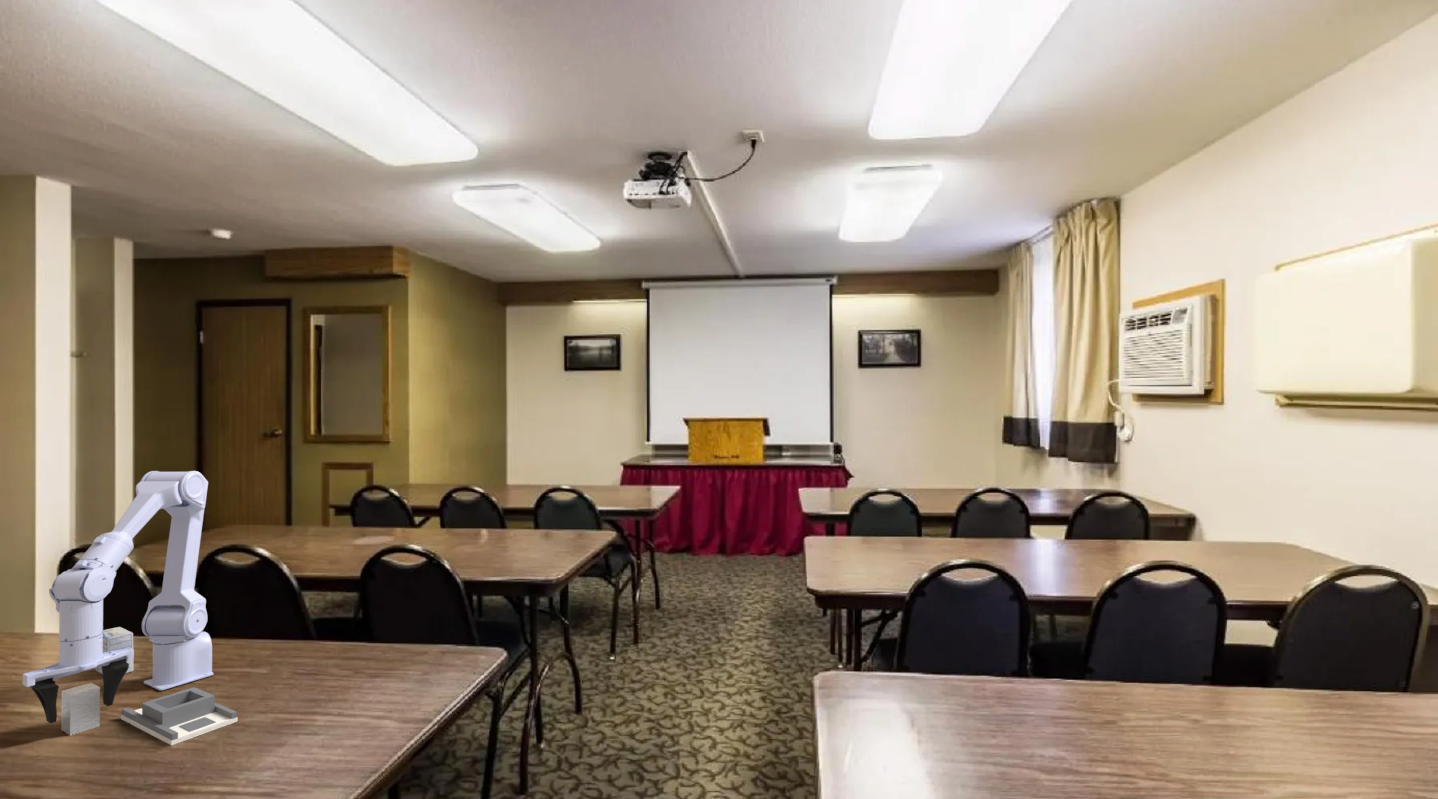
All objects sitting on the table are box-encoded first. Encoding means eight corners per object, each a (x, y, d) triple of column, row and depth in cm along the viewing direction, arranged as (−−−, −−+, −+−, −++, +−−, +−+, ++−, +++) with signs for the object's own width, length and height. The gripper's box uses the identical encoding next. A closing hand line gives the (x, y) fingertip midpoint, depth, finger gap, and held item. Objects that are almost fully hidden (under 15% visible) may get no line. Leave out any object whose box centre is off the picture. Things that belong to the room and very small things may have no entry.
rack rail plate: (185, 698, 132) (185, 679, 132) (237, 721, 122) (237, 700, 122) (120, 719, 123) (120, 698, 123) (171, 745, 114) (171, 722, 114)
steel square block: (90, 721, 123) (90, 682, 123) (99, 726, 121) (99, 687, 121) (61, 730, 119) (61, 690, 119) (70, 735, 117) (70, 695, 117)
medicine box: (134, 672, 146) (134, 632, 146) (107, 679, 142) (107, 638, 142) (120, 664, 150) (121, 626, 150) (94, 671, 146) (94, 631, 146)
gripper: (33, 653, 112) (32, 734, 112) (141, 628, 125) (140, 701, 124) (18, 645, 115) (17, 725, 115) (125, 622, 128) (124, 694, 128)
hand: (80, 712), depth 120 cm, fingers open, 7 cm apart
